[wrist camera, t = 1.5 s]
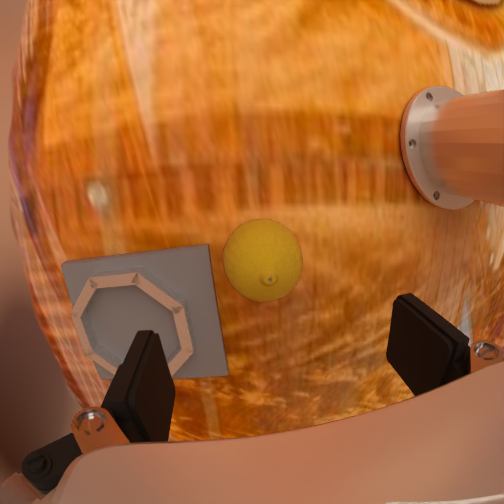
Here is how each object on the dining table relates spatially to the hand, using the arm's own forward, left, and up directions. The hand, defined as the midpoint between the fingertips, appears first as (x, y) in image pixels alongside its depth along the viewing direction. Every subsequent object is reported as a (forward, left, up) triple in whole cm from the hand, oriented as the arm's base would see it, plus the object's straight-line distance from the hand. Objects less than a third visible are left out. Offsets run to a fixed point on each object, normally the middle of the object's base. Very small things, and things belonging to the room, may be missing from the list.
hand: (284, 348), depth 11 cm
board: (+11, +6, -15) cm, 19 cm away
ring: (+12, +6, -14) cm, 19 cm away
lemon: (0, 0, -15) cm, 15 cm away
